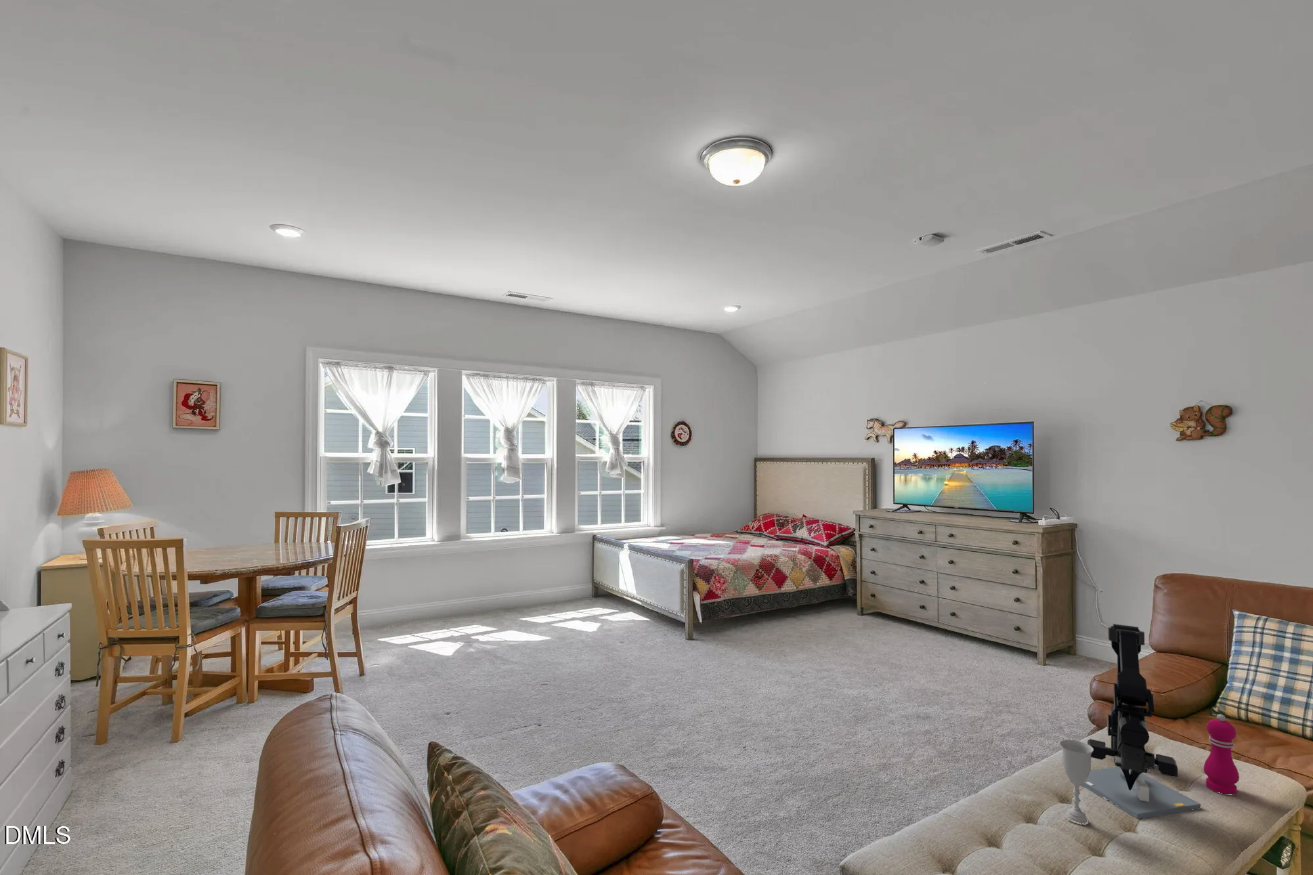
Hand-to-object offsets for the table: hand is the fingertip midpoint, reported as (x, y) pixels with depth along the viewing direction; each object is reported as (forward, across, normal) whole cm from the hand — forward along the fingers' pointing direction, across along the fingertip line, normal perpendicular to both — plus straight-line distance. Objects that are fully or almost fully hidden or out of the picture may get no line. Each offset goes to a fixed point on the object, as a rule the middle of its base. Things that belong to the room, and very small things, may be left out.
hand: (1129, 789), depth 169 cm
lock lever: (+1, +2, +5) cm, 5 cm away
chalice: (+3, -12, -18) cm, 22 cm away
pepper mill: (+3, +21, +19) cm, 29 cm away
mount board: (+3, +1, +4) cm, 5 cm away
